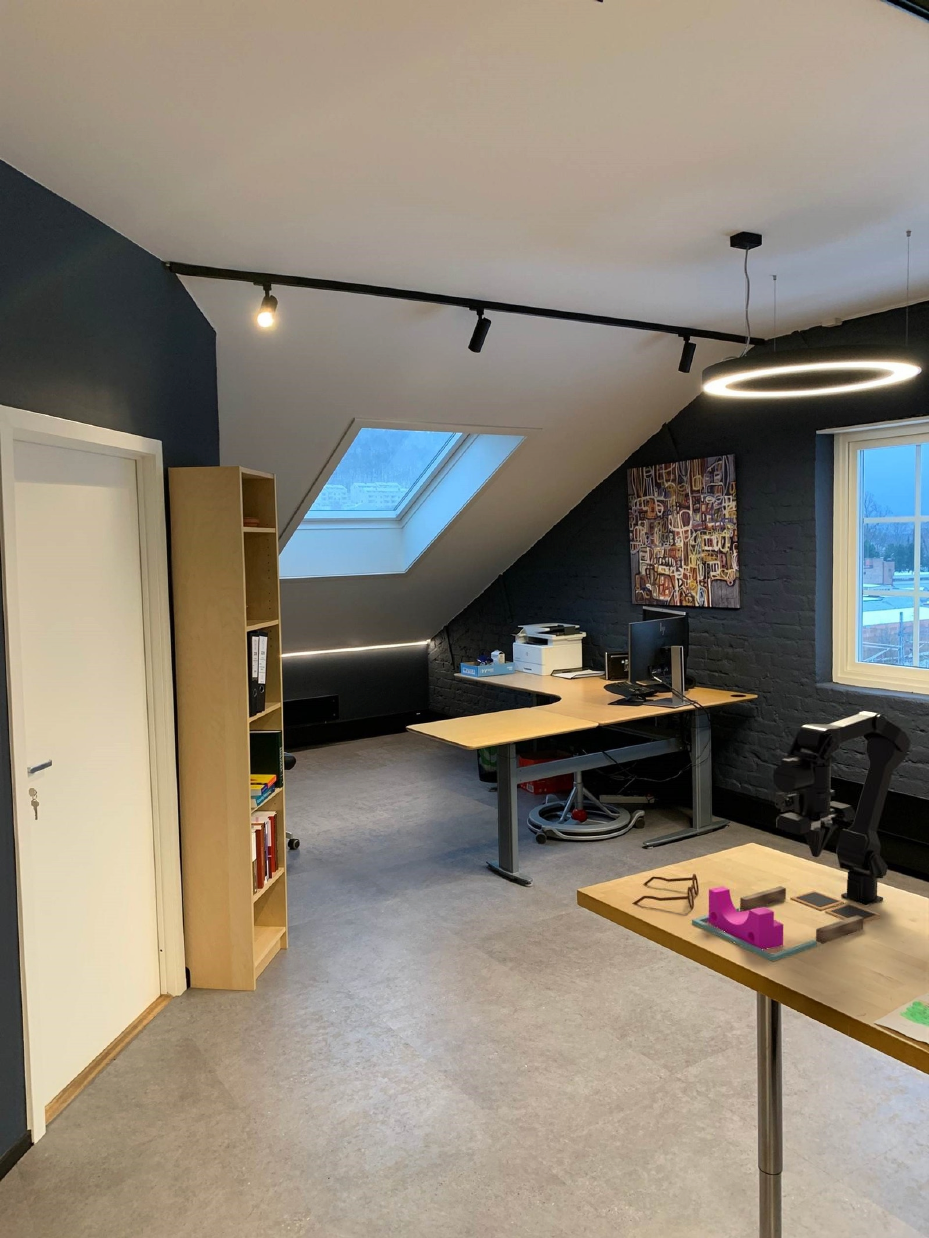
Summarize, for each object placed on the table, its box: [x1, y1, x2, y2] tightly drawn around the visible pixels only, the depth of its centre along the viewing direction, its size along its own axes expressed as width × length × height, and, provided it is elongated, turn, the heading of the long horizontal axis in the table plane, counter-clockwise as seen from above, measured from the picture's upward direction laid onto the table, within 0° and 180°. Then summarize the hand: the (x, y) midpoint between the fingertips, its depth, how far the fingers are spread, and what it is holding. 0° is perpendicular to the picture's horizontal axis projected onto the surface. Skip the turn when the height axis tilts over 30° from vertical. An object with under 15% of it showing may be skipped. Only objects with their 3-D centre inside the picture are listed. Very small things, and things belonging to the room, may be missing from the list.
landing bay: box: [691, 906, 819, 962], centre depth 183 cm, size 13×21×1 cm, turn 31°
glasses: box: [632, 873, 700, 910], centre depth 204 cm, size 13×13×5 cm
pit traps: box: [790, 890, 882, 924], centre depth 197 cm, size 8×17×1 cm, turn 31°
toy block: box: [708, 885, 784, 950], centre depth 184 cm, size 15×6×8 cm, turn 24°
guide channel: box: [739, 885, 865, 945], centre depth 191 cm, size 13×21×2 cm, turn 31°
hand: (815, 856), depth 192 cm, fingers closed
